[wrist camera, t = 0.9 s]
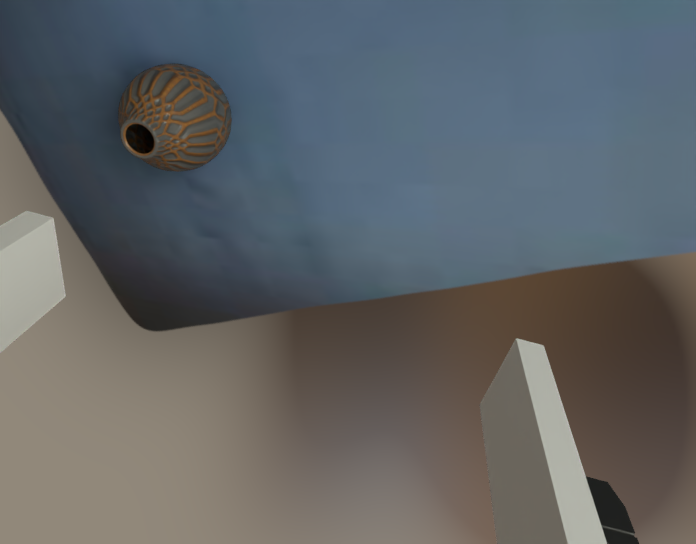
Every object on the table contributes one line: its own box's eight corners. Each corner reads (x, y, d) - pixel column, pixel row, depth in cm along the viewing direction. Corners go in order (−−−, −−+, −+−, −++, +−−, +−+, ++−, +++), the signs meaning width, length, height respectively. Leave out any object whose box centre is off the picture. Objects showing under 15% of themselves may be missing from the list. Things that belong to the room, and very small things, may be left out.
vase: (149, 131, 37) (79, 167, 29) (162, 41, 33) (86, 57, 26) (231, 166, 37) (183, 210, 30) (253, 81, 34) (204, 108, 26)
